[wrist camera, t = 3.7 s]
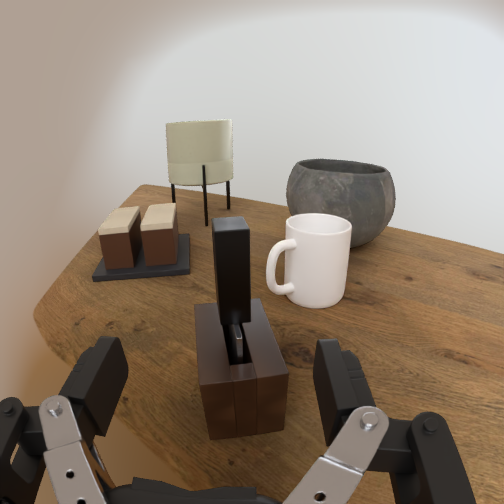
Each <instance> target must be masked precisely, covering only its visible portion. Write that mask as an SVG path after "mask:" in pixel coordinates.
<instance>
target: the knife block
mask: <svg viewBox="0 0 504 504" xmlns="http://www.w3.org/2000/svg"><path fill="white" fill-rule="evenodd" d="M194 310H195V329H196V346H197V361H198V375H199V386H200V391H201V397H202V402H203V407H204V412H205V417H206V422H207V427H208V432H209V437H210V440H216V439H226V438H234V437H237V436H238V437H242V436H249V435H256V434H263V433H269V432H275V431H281V430H283V429H284V420H285V410H286V400H287V389H288V378H289V372H288V370H287V367H286V365H285V362H284V359H283V357H282V354H281V352H280V349H279V347H278V344H277V342H276V339H275V336H274V334H273V331H272V329H271V326H270V324H269V321H268V319H267V316H266V313H265V311H264V308H263V306H262V303H261V300H260V298H257V299H251V322H249V323H240V324H239V327H240V331H241V335H242V344H243V364H238V365H231V356H230V342H229V327H228V325H221V324H220V319H219V313H218V307H217V303H206V304H195V305H194Z"/></svg>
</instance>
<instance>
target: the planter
mask: <svg viewBox="0 0 504 504" xmlns="http://www.w3.org/2000/svg"><path fill="white" fill-rule="evenodd" d="M166 137H167V157H168V173H169V182H170V183H171V189H172V202H173V203H176V199H175V187H174V184H175V185H182V186H200V185H201V186H202V188H203V196H204V213H205V226H208V211H207V192H206V185H212V184H218V183H223V182H226V191H227V209H230V182H229V180H231V179H232V178H233V149H232V147H233V146H232V120H204V121H188V122H176V123H167V124H166ZM176 213H177V212H176Z"/></svg>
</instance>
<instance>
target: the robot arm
mask: <svg viewBox="0 0 504 504" xmlns="http://www.w3.org/2000/svg"><path fill="white" fill-rule="evenodd" d="M127 378H128V364H127V361H126V358H125V354H124V351H123V348H122V345H121V342H120V339H119V338H118V337H107V336H101V337H100V338H99V339H98V341H97V343H96V344H95V346H94V347H89V348H88V349H87V350H86V351H85V352H83V353H82V354H81V356H80V358H79V359H78V361H77V364H75V366H74V368H73V371H71V373H70V375H69V376H68V379H67V380H66V382H65V384H64V385H63V387H62V389H61V391H60V393H59V394H58V395H54V396H50V397H48V398H46V399H45V400H44V401H43V402H42V403H41V405H40V406H32V407H24V406H23V404H22V403H21V401H20V400H19V399H17V398H15V397H9V398H6V399H4V400H2V401H1V402H0V504H34V502H35V499H36V496H37V492H38V489H39V486H40V483H41V480H42V477H43V474H44V471H45V468H46V467H47V470H48V474H49V476H50V480H51V483H52V486H53V489H54V492H55V495H56V498H57V501H58V504H346V503H347V501H348V500H349V498H350V497H351V495H352V493H353V492H354V490H355V488H356V487H357V485H358V483H359V482H360V480H361V478H362V477H363V475H364V473H365V471H366V470H367V471H378V472H389V475H390V479H391V484H392V488H393V493H394V498H395V503H396V504H476V501H475V498H474V495H473V491H472V488H471V486H470V483H469V480H468V477H467V474H466V471H465V468H464V466H463V463H462V460H461V458H460V455H459V452H458V450H457V447H456V445H455V442H454V440H453V437H452V435H451V432H450V430H449V427H448V425H447V423H446V421H445V419H444V418H443V417H442V416H440V415H439V414H437V413H434V412H423V413H420V414H418V415H417V416H416V417H415V418H414V419H413V421H409V420H397V419H392V418H389V417H387V415H386V414H385V413H384V412H383V411H382V410H380V409H378V408H377V407H376V405H375V402H374V400H373V397H372V394H371V391H370V389H369V386H368V383H367V381H366V378H365V375H364V373H363V370H362V367H361V365H360V362H359V360H358V358H357V357H356V356H355V355H354V354H353V353H352V352H351V351H350V350H347V351H341V349H340V346H339V343H338V340H337V339H321V340H318V341H317V345H316V353H315V360H314V367H313V379H314V385H315V390H316V395H317V400H318V405H319V410H320V415H321V420H322V425H323V430H324V435H325V441H326V446H330V447H329V448H328V450H327V451H326V453H325V454H324V455H321V456H320V457H319V458H318V459H317V460H316V461H315V463H314V464H313V465H312V467H311V468H310V469H309V471H308V472H307V473H306V475H305V476H304V477H303V479H302V480H301V481H300V482H299V484H298V485H297V486H296V488H295V489H294V490H293V491H292V492H291V494H290V495H289V496H288V497H287V499H286V500H285V501H284V502H283V503H281V502H280V501H278V500H275V499H273V498H271V497H267V496H264V495H260V494H256V487H220V488H213V489H207V490H200V491H188V490H185V489H182V488H179V487H176V486H173V485H171V484H168V483H165V482H162V481H156V480H149V479H143V478H137V477H133V482H132V484H128V485H122V486H118V487H116V486H115V485H114V483H113V481H112V480H111V478H110V476H109V474H108V472H107V470H106V468H105V466H104V464H103V462H102V459H101V457H100V455H99V452H98V450H97V448H96V445H95V443H94V442H93V439H94V437H95V435H99V436H104V437H105V436H106V433H107V430H108V427H109V425H110V422H111V419H112V417H113V414H114V411H115V409H116V406H117V403H118V401H119V398H120V396H121V393H122V391H123V388H124V386H125V383H126V381H127ZM16 444H18V445H19V448H18V450H17V452H16V455H15V458H14V460H13V462H12V465H11V464H10V459H11V456H12V453H13V451H14V449H15V446H16Z"/></svg>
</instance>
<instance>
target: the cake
mask: <svg viewBox="0 0 504 504" xmlns="http://www.w3.org/2000/svg"><path fill="white" fill-rule="evenodd" d="M98 232H99V238H100V243H101V248H102V254H103V258H102V259H101V261H100V263H99V265H98V266H97V268H96V270H95V272H94V273H93V275H92V279H93V282H95V281H108V280H122V279H135V278H148V277H160V276H172V275H184V274H190V262H189V242H190V238H189V234H178V224H177V213H176V203H168V204H157V205H150V206H149V208H148V210H147V212H146V214H145V216H144V218H143V220H142V222H141V216H140V208H139V206H136V207H127V208H117V209H114V210H113V211H112V213H111V214H110V215H109V216H108V218H107V219H106V220H105V221H104V223H103V224H102V225H101V226H100V228H99V229H98Z"/></svg>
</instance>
